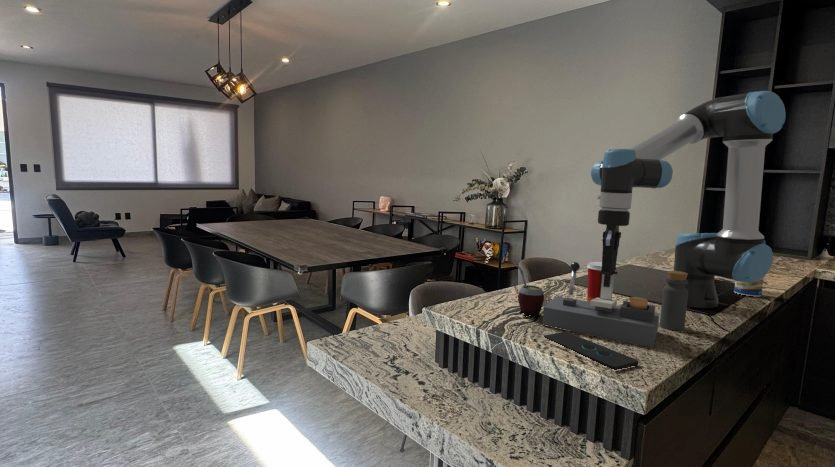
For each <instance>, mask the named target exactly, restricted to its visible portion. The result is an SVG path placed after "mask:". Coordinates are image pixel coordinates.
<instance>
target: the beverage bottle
mask: <svg viewBox="0 0 835 467" xmlns="http://www.w3.org/2000/svg"><path fill="white" fill-rule="evenodd" d="M766 243H767V242H766V240H764V244H765V245H767V244H766ZM764 278H765V276H764V277H763V278H762V279H761V280H759V281H757V282H753V283H747V282H742V281H740V282H738V281H735V280H734V281H735V282H734V288H733V292H734V293H735V294H736V293H737V295H739V294H741V295H740V296H742V295H746V296H745V297H748V296H753V297H752V298H759V297H761V296H762V294H763V285H764Z"/></svg>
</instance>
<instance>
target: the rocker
mask: <svg viewBox="0 0 835 467" xmlns="http://www.w3.org/2000/svg"><path fill="white" fill-rule="evenodd" d="M590 305H592V306H598V307H604V308H610V309H611V308H613V307H615V306H618V300H614V299H613V298H612V299H611V300H609V299H603V298H595V299H593V300H590Z"/></svg>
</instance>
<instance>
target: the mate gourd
mask: <svg viewBox="0 0 835 467" xmlns="http://www.w3.org/2000/svg"><path fill="white" fill-rule="evenodd" d="M512 263H513V264H514V265H515V267H517V269H518V270H519V273H520V275H521V278H522V282H523V285H522V286H521V287H520V289H519V291H518V294H517V300H518V304H519V309H520V311H519V314H521V313H524V314H522V317H523V316H525V317H526V316H529V315H531V316H529V317H533V316H535V317H534V318H537V317H540V318H541V315H540V314H541V313H542V312H541V311H542V308H543V306H544V305H543V304H544V302H545V301H544V300H545V294H544V293H545V292H544V291H543V289H542V288H541V287H540V286H536V285H527V282H526V279H525V276H524V270H523V269H522V268H521V266H520V265H518V264H516V263H515V262H512ZM525 317H524V318H525ZM526 318H527V317H526Z"/></svg>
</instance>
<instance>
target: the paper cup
mask: <svg viewBox="0 0 835 467" xmlns="http://www.w3.org/2000/svg"><path fill="white" fill-rule="evenodd" d="M586 268H587V289H586V290H587V295H586V298H587V299H586V301H588V302H590V300H593V299H595V298H600V295H601V284H602V274H599V272H600V271H601V270H602V261H592V262H591V261H590V262H588V264H587V265H586Z"/></svg>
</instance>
